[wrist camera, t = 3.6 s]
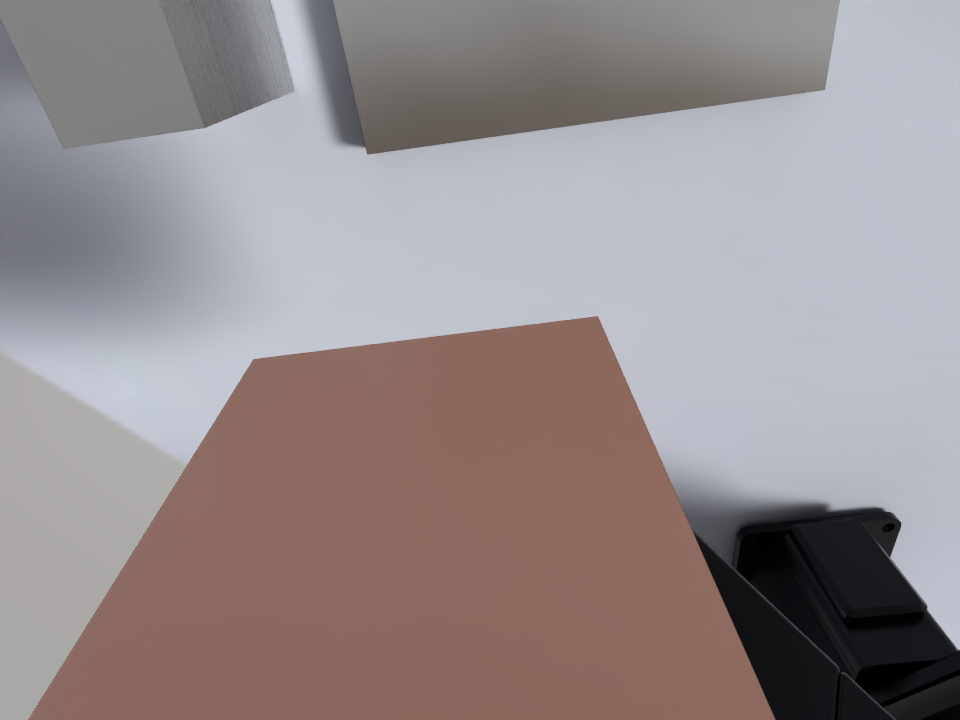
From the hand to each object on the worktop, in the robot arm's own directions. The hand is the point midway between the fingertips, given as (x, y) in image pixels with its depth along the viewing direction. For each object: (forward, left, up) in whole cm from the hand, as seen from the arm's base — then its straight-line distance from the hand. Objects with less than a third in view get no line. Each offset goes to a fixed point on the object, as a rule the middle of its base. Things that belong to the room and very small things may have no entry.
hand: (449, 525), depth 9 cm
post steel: (+7, +5, -11) cm, 14 cm away
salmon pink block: (0, 0, -1) cm, 1 cm away
